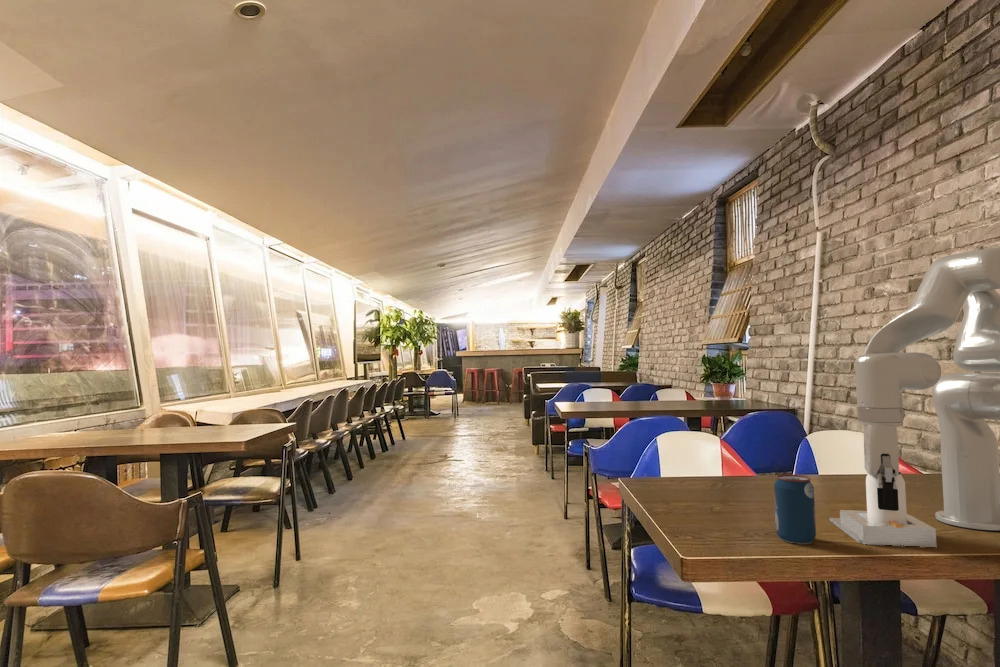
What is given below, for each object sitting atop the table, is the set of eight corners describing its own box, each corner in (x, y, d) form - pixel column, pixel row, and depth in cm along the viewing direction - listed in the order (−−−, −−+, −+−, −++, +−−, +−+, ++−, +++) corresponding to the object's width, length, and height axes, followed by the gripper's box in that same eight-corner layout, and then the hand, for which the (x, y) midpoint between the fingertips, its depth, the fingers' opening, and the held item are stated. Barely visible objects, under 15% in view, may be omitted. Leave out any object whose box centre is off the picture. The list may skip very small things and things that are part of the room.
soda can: (824, 543, 109) (822, 479, 109) (794, 547, 107) (792, 481, 107) (796, 533, 115) (794, 472, 116) (767, 536, 113) (765, 475, 114)
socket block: (897, 523, 122) (896, 504, 122) (940, 548, 105) (939, 527, 105) (829, 520, 124) (828, 502, 125) (861, 544, 107) (860, 523, 108)
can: (905, 531, 113) (902, 470, 114) (909, 540, 108) (906, 475, 109) (867, 527, 117) (864, 467, 117) (869, 535, 111) (866, 473, 112)
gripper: (854, 412, 123) (858, 493, 122) (862, 420, 108) (867, 512, 107) (896, 413, 120) (900, 496, 119) (910, 421, 104) (916, 516, 103)
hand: (884, 504), depth 113 cm, fingers open, 9 cm apart
